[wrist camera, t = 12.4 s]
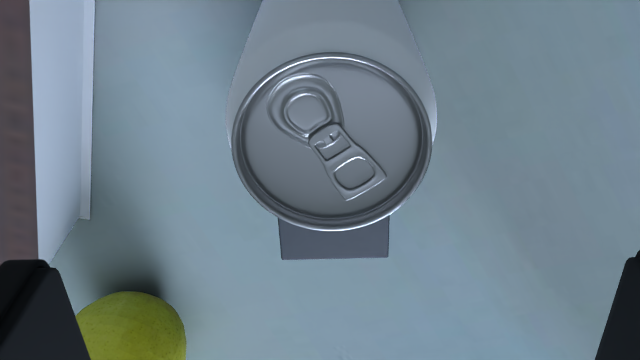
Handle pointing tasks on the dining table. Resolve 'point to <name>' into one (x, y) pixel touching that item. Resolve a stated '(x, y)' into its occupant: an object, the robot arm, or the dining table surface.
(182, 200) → the dining table surface
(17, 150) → the book
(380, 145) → the can
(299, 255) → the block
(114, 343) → the fruit
